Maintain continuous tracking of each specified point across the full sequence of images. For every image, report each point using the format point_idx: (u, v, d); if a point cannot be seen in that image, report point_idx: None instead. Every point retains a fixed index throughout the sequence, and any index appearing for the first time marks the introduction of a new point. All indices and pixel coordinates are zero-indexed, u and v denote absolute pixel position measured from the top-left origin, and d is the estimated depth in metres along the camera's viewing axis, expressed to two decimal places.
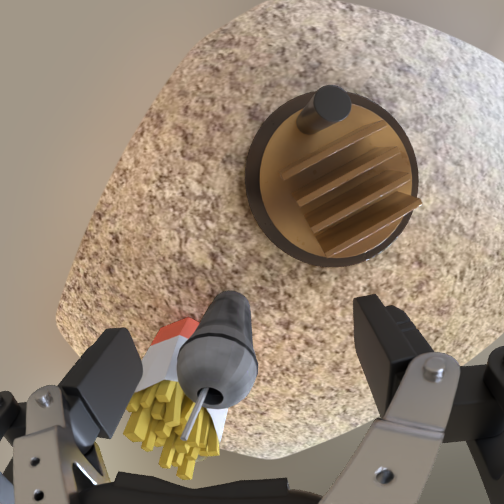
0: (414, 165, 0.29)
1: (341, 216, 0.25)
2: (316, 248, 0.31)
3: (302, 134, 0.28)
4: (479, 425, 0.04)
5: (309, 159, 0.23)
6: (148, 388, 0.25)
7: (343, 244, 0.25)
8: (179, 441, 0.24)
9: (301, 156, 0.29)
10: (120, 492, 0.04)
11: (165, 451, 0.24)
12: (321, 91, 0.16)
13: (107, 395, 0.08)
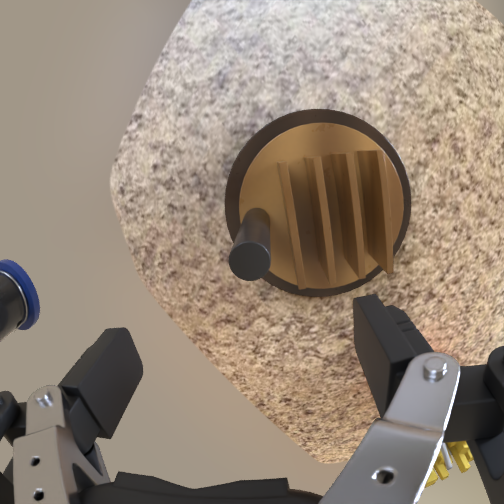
0: (335, 114, 0.26)
1: (362, 246, 0.23)
2: None
3: None
4: (479, 425, 0.04)
5: (295, 259, 0.24)
6: None
7: (388, 253, 0.23)
8: (459, 447, 0.22)
9: (288, 239, 0.29)
10: (120, 492, 0.04)
11: (458, 461, 0.21)
12: (234, 268, 0.18)
13: (108, 395, 0.08)
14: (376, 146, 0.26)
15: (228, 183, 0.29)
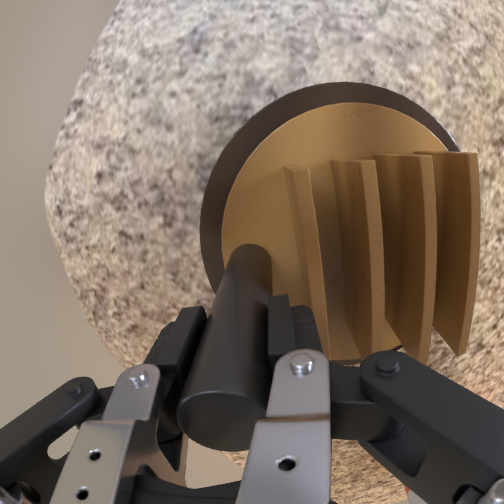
0: (376, 91, 0.15)
1: (430, 322, 0.12)
2: None
3: None
4: (357, 426, 0.06)
5: None
6: None
7: (464, 326, 0.12)
8: None
9: (300, 293, 0.18)
10: None
11: None
12: (190, 433, 0.07)
13: None
14: (441, 145, 0.15)
15: (204, 201, 0.18)
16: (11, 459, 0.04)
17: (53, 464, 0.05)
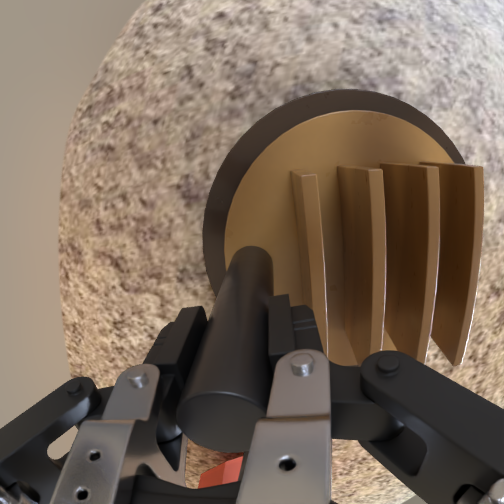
0: None
1: (428, 332, 0.12)
2: None
3: None
4: (357, 426, 0.06)
5: None
6: None
7: (462, 338, 0.12)
8: None
9: (300, 297, 0.18)
10: None
11: None
12: (188, 432, 0.07)
13: None
14: (446, 157, 0.15)
15: (285, 106, 0.16)
16: (11, 459, 0.04)
17: (53, 464, 0.05)
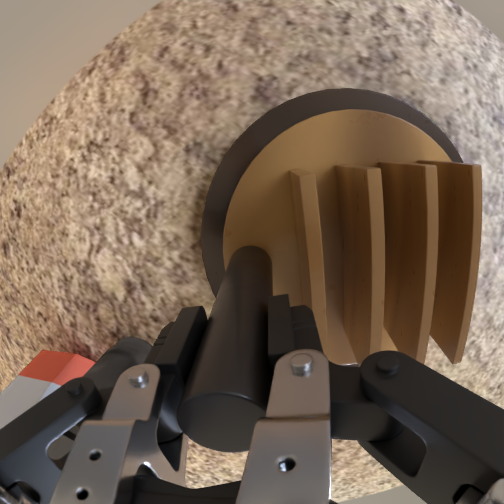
0: None
1: (427, 330, 0.12)
2: None
3: None
4: (357, 426, 0.06)
5: None
6: None
7: (461, 336, 0.12)
8: None
9: (299, 297, 0.18)
10: None
11: None
12: (189, 432, 0.07)
13: None
14: (444, 156, 0.15)
15: (395, 100, 0.15)
16: (11, 459, 0.04)
17: (53, 464, 0.05)
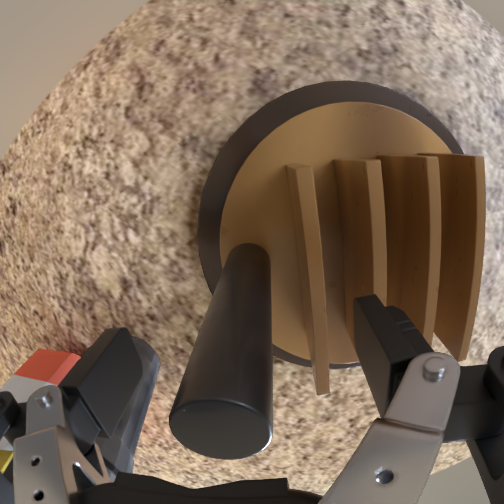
0: None
1: (431, 327, 0.12)
2: None
3: None
4: (479, 425, 0.04)
5: (317, 352, 0.12)
6: None
7: (466, 332, 0.12)
8: None
9: (299, 295, 0.17)
10: (120, 492, 0.04)
11: None
12: (183, 440, 0.06)
13: (107, 395, 0.08)
14: (445, 148, 0.14)
15: (396, 93, 0.15)
16: None
17: (0, 473, 0.04)
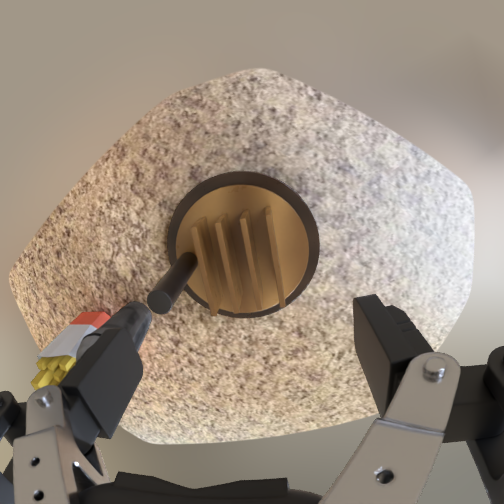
0: (315, 257, 0.38)
1: (256, 287, 0.32)
2: (288, 288, 0.38)
3: (196, 268, 0.38)
4: (479, 425, 0.04)
5: (207, 295, 0.33)
6: (56, 357, 0.30)
7: (279, 292, 0.32)
8: None
9: None
10: (120, 492, 0.04)
11: None
12: (150, 306, 0.27)
13: (107, 395, 0.08)
14: (282, 201, 0.35)
15: (258, 174, 0.35)
16: None
17: (0, 473, 0.04)
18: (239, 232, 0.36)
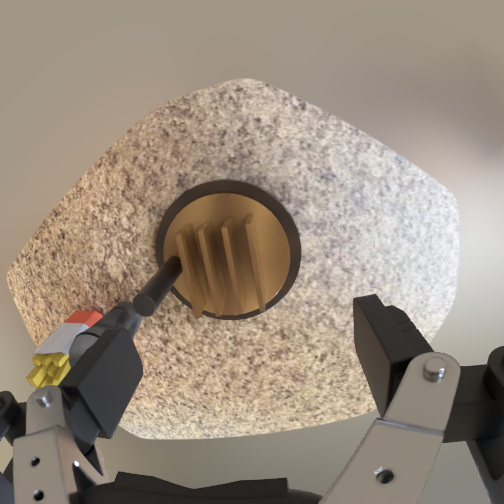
0: (297, 263, 0.39)
1: (237, 292, 0.34)
2: (270, 293, 0.39)
3: (183, 272, 0.39)
4: (479, 425, 0.04)
5: (190, 298, 0.34)
6: (50, 353, 0.32)
7: (258, 297, 0.34)
8: None
9: None
10: (120, 492, 0.04)
11: None
12: (135, 309, 0.28)
13: (107, 395, 0.08)
14: (265, 210, 0.36)
15: (242, 183, 0.37)
16: None
17: (0, 473, 0.04)
18: (223, 238, 0.38)
